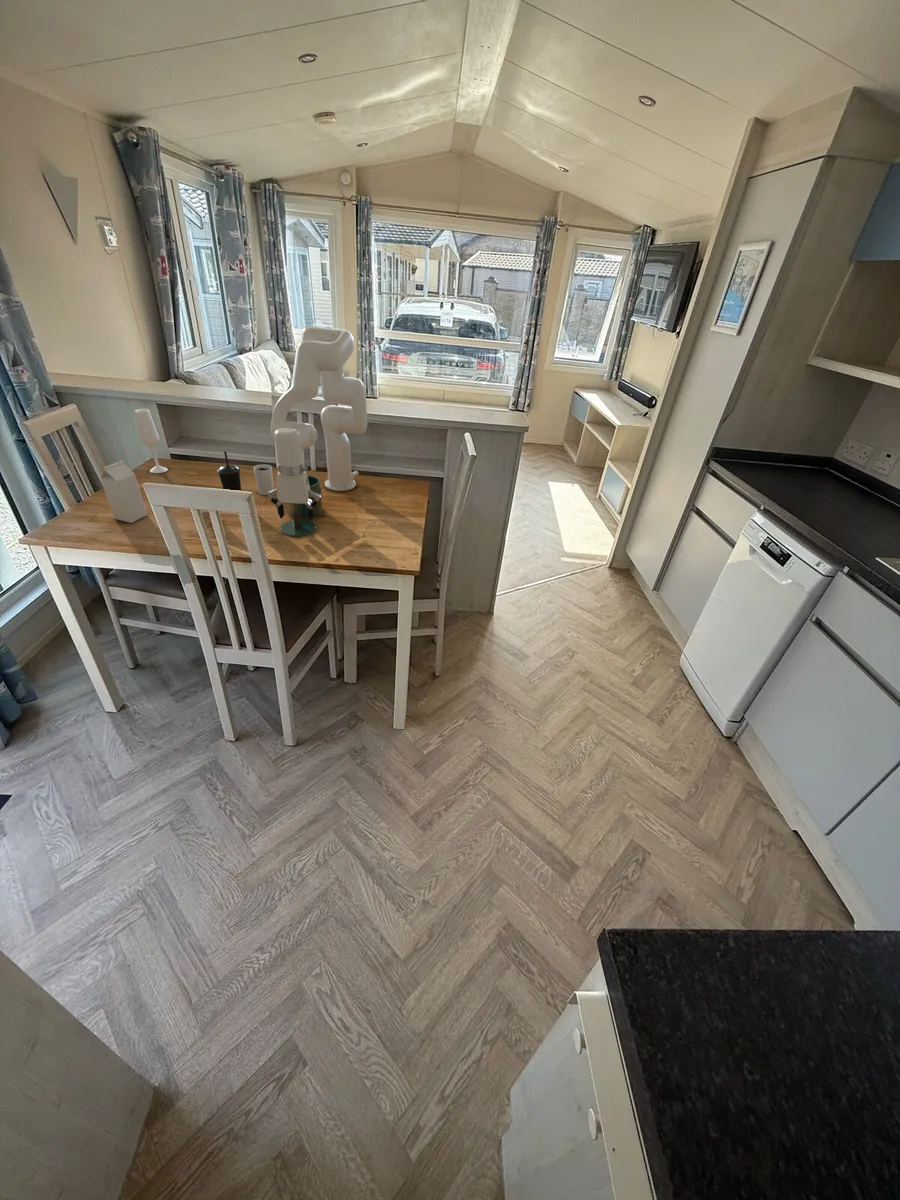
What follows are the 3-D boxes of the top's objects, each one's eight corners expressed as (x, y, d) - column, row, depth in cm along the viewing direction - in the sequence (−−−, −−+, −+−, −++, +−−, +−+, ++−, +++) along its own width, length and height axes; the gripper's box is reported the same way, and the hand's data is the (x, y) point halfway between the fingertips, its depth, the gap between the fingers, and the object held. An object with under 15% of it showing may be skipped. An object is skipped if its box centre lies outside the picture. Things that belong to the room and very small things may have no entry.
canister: (306, 504, 191) (303, 472, 183) (329, 512, 186) (326, 480, 179) (285, 514, 183) (280, 481, 175) (308, 522, 178) (304, 489, 171)
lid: (298, 519, 180) (295, 502, 177) (323, 528, 176) (322, 511, 172) (272, 531, 172) (270, 513, 168) (299, 541, 167) (296, 523, 163)
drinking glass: (253, 493, 196) (249, 468, 190) (265, 487, 201) (261, 463, 195) (267, 496, 194) (263, 471, 188) (278, 490, 199) (275, 466, 193)
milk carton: (147, 515, 175) (131, 462, 164) (131, 523, 170) (112, 469, 159) (131, 511, 177) (114, 458, 166) (114, 519, 171) (95, 465, 160)
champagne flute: (170, 467, 211) (154, 408, 198) (163, 473, 206) (147, 413, 192) (153, 466, 211) (137, 407, 197) (146, 472, 205) (129, 412, 192)
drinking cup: (239, 510, 183) (229, 456, 171) (220, 507, 184) (208, 453, 172) (250, 502, 189) (241, 449, 178) (231, 499, 190) (221, 447, 179)
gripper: (320, 466, 164) (324, 514, 174) (267, 463, 164) (274, 511, 173) (315, 474, 158) (319, 524, 168) (260, 471, 158) (267, 520, 167)
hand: (296, 517), depth 171 cm, fingers open, 9 cm apart
